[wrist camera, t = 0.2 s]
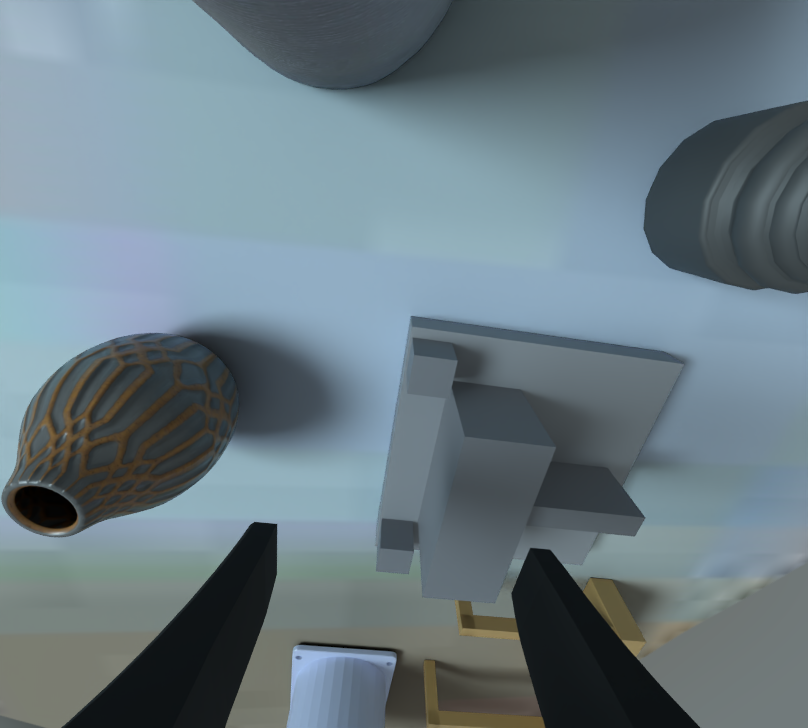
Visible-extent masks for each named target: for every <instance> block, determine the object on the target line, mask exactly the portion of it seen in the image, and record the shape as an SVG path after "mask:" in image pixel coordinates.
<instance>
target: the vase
mask: <svg viewBox="0 0 808 728" xmlns="http://www.w3.org/2000/svg"><path fill="white" fill-rule="evenodd" d="M238 411H239V399H238V391H237V387H236V383H235V381H234V379H233V377H232V375H231V373H230V371H229V370H228V368H227V367H226V366H225V364H224V363H223V362H222V361H221V360H220V359H219V358H218V357H217V356H216V355H215V354H214V353H213V352H211V351H210V350H209V349H207V348H206V347H204V346H202V345H201V344H199V343H197V342H195V341H192V340H190V339H187V338H184V337H181V336H177V335H172V334H162V333H145V334H134V335H129V336H124V337H119V338H115V339H112V340H110V341H107V342H104V343H102V344H99V345H97V346H95V347H93V348H91V349H88V350H86V351H84V352H83V353H81V354H79V355H77V356H76V357H74V358H72V359H71V360H70V361H68V362H67V363H65V364H64V365H63V366H62V367H60V368H59V369H58V370H57V371H56V372H55V373H54V374H53V375H52V376H51V377H50V378H49V379H48V380H47V381H46V382H45V383H44V384H43V386H42V387H41V388H40V389H39V390H38V392H37V393H36V395H35V396H34V397H33V399H32V400H31V402H30V404H29V406H28V408H27V410H26V412H25V415H24V418H23V420H22V424H21V429H20V435H19V443H18V451H17V462H16V467H15V469H14V472H13V474H12V475H11V477H10V479H9V481H8V482H7V484H6V486H5V488H4V490H3V492H2V504H3V507H4V509H5V511H6V512H7V514H8V515H9V516H10V517H11V518H12V519H13V520H14V521H15V522H16V523H17V524H19V525H20V526H22V527H23V528H25V529H27V530H29V531H31V532H34V533H36V534H40V535H43V536H49V537H67V536H71V535H74V534H77V533H79V532H81V531H83V530H85V529H87V528H89V527H90V526H92V525H94V524H96V523H99V522H101V521H104V520H107V519H111V518H116V517H120V516H125V515H129V514H133V513H137V512H141V511H144V510H148V509H151V508H154V507H156V506H159V505H162V504H164V503H166V502H168V501H170V500H172V499H173V498H175V497H177V496H179V495H180V494H182V493H183V492H185V491H186V490H188V489H189V488H190V487H192V486H193V485H194V484H195V483H197V482H198V481H199V480H200V479H201V478H203V477H204V476H205V475H206V474H207V473H208V472H209V471H210V470H211V469H212V467H213V466H214V465H215V464H216V462H217V461H218V460H219V458H220V457H221V455H222V454H223V452H224V451H225V449H226V447H227V445H228V444H229V442H230V440H231V438H232V436H233V433H234V430H235V426H236V423H237V418H238Z"/></svg>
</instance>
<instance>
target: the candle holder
mask: <svg viewBox="0 0 808 728" xmlns="http://www.w3.org/2000/svg"><path fill="white" fill-rule="evenodd" d="M644 231H645V234H646V237H647V239H648V242H649V245H650V248H651V251H652V253H653V254H654V255H656V256H657V257H658V258H659V259H660V260H661V261H662V262H663V263H665V264H666V265H667V266H668V267H669V268H672V269H675V270H679V271H682V272H686V273H689V274H693V275H696V276H700V277H703V278H707V279H710V280H714V281H717V282H721V283H724V284H729V285H733V286H737V287H742V288H746V289H750V290H759V289H764V288H771V289H776V290H780V291H784V292H789V293H793V294H798V293H804V292H808V101H804V102H799V103H794V104H789V105H785V106H780V107H776V108H771V109H767V110H762V111H758V112H753V113H748V114H744V115H739V116H735V117H730V118H726V119H721V120H717V121H714V122H712V123H710V124H709V125H707V126H706V127H704V128H702V129H701V130H699V131H698V132H696V133H695V134H693V135H691V136H690V137H688V138H687V139H685V140H684V141H683V142H682V143H681V144H680V145H679V146H678V148H677V149H676V150H675V151H674V152H673V153H672V155H671V156H670V157H669V158H668V159H667V160H666V162H665V163H664V164H663V165H662V166H661V167H660V169H659V171H658V173H657V176H656V178H655V180H654V182H653V185H652V187H651V189H650V192H649V194H648V196H647V198H646V207H645V219H644Z"/></svg>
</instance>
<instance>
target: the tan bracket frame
mask: <svg viewBox="0 0 808 728" xmlns="http://www.w3.org/2000/svg"><path fill="white" fill-rule="evenodd" d="M583 593H584V594H585V595H586V597H587V598H588V599H589V600H590V602H591V603H592V604H593V606H594V607H595V608H596V609H597V611H598V612H599V613H600V614H601V616H602V617H603V618H604V619H605V621H606V622H607V623H608V624H609V626H610V627H611V628H612V629H613V631H614V632H615V633H616V634H617V636H618V637H619V638H620V639H621V640H622V642H623V643H624V644H625V645H626V646H627V648H628V649H629V650H630V651H631V652H632V653H633V655H634V656H635V657H636V656H637V654H638V653H639V651H640V650H641V649H642V647H643V646H644V644H645V643H646V641H645V639H644V637H643V635H642V633H641V632H640V630H639V628H638V626H637V624H636V623H635V621H634V619H633V617H632V615H631V613H630V612H629V610H628V608H627V606H626V604H625V602H624V601H623V599H622V597H621V595H620V593H619V592H618V590H617V588H616V586H615V584H614V582H613V581H612V580H609V579H598V578H590V579H589V581H588V583H587V585H586V587H585V589H584V591H583ZM455 605H456V612H457V620H458V627H459V634H460V635H462V636H475V637H488V638H501V639H514V640H520V638H519V634H518V629H517V623H516V619H515V618H502V617H490V616H477V615H473V612H472V606H471V601H461V600H455ZM423 666H424V685H425V704H426V723H427V728H545V725H544V721H543V718H542V717H536V716H519V715H503V714H486V713H470V712H453V711H439V710H438V697H437V684H436V671H435V661H433V660H425V661H424V665H423Z"/></svg>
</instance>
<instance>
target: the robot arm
mask: <svg viewBox="0 0 808 728" xmlns="http://www.w3.org/2000/svg"><path fill="white" fill-rule="evenodd" d="M276 575H277V524H271V523H260V522H254V523H252V524H251V525H250V526H249V528H248V529H247V530H246V532H245V533H244V535H243V536H242V537H241V539H240V540H239V541H238V543H237V544H236V545H235V547H234V548H233V549H232V550H231V552H230V553H229V554H228V556H227V557H226V558H225V559H224V561H223V562H222V563H221V564H220V566H219V567H218V568H217V569H216V571H215V572H214V573H213V574H212V575H211V576H210V578H209V579H208V580H207V581H206V582H205V584H204V585H203V586H202V587H201V588H200V589H199V591H198V592H197V593H196V594H195V595H194V596H193V598H192V599H191V600H190V601H189V602H188V603H187V604H186V606H185V607H184V608H183V609H182V610H181V611H180V612H179V613H178V614H177V615H176V616H175V617H174V619H173V620H172V621H171V622H170V623H169V624H168V625H167V626H166V627H165V628H164V629H163V630H162V632H161V633H160V634H159V635H158V636H157V637H156V638H155V639H154V640H153V641H152V642H151V643H150V644H149V645H148V646H147V647H146V648H145V649H144V650H143V651H142V652H141V653H140V654H139V655H138V656H137V657H136V658H135V659H134V660H133V661H132V662H131V663H130V664H129V665H128V666H127V667H126V668H125V669H124V670H123V671H122V672H121V673H120V674H119V675H118V676H117V677H116V678H115V679H114V680H113V681H112V682H111V683H110V684H109V685H108V686H107V687H106V688H104V689H103V690H102V691H101V692H100V693H99V694H98V695H97V696H96V697H95V698H94V699H93V700H91V701H90V702H89V703H88V704H87V705H86V706H85V707H84V708H83V709H82V710H81V711H80V712H78V713H77V714H76V715H75V716H74V717H73V718H72V719H71V720H70V721H69V722H67V723H66V724H65V725H64V726H63V727H62V728H225V726H226V723H227V720H228V717H229V714H230V711H231V709H232V706H233V703H234V701H235V698H236V695H237V693H238V690H239V687H240V684H241V682H242V679H243V676H244V674H245V671H246V668H247V665H248V663H249V660H250V657H251V655H252V652H253V649H254V647H255V644H256V641H257V638H258V636H259V633H260V630H261V627H262V625H263V622H264V619H265V616H266V613H267V609H268V605H269V602H270V598H271V594H272V591H273V587H274V583H275V579H276ZM512 600H513V606H514V612H515V618H516V623H517V629H518V634H519V638H520V641H521V645H522V649H523V652H524V656H525V659H526V663H527V666H528V670H529V673H530V677H531V680H532V684H533V687H534V690H535V694H536V697H537V701H538V704H539V708H540V711H541V715H542V718H543V721H544V725H545V728H700V727H699V726H698V725H697V724H696V723H695V722H694V721H693V720H692V718H691V717H690V716H689V715H688V714H687V713H686V712H685V711H684V710H683V709H682V708H681V707H680V706H679V705H678V704H677V703H676V702H675V701H674V700H673V698H672V697H671V696H670V695H669V694H668V693H667V692H666V691H665V690H664V689H663V688H662V687H661V686H660V684H659V683H658V682H657V681H656V680H655V679H654V678H653V677H652V675H651V674H650V673H649V672H648V671H647V670H646V668H645V667H644V666H643V665H642V664H641V663H640V662H639V660H638V659H637V658H636V657H635V656H634V655H633V653H632V652H631V651H630V650H629V649H628V648H627V646H626V645H625V644H624V643H623V642H622V640H621V639H620V638H619V637H618V636H617V634H616V633H615V632H614V631H613V629H612V628H611V627H610V626H609V624H608V623H607V622H606V621H605V619H604V618H603V617H602V616H601V614H600V613H599V612H598V611H597V609H596V608H595V607H594V606H593V604H592V603H591V602H590V600H589V599H588V598H587V597H586V595H585V594H584V593H583V591H582V590H581V589H580V587H579V586H578V585H577V584H576V582H575V581H574V580H573V578H572V577H571V576H570V574H569V573H568V572H567V570H566V569H565V568H564V566H563V565H562V564H561V562H560V561H559V560H558V559H557V557H556V556H555V555H554V553H553V552H552V551H551V550H550V549H540V548H530V549H529V552H528V554H527V556H526V559H525V561H524V564H523V566H522V569H521V571H520V574H519V576H518V579H517V581H516V584H515V586H514V589H513V591H512ZM396 661H397V654H396V653H395V652H392V651H378V650H365V649H351V648H337V647H323V646H309V645H297V646H295V647H294V649H293V657H292V680H291V703H290V712H289V717H288V722H287V727H286V728H385V706H386V702H387V698H388V693H389V689H390V685H391V681H392V677H393V673H394V669H395V665H396Z"/></svg>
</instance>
